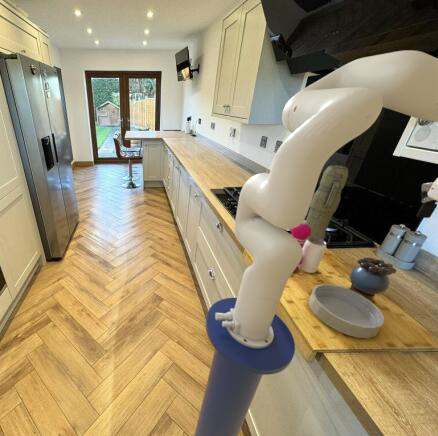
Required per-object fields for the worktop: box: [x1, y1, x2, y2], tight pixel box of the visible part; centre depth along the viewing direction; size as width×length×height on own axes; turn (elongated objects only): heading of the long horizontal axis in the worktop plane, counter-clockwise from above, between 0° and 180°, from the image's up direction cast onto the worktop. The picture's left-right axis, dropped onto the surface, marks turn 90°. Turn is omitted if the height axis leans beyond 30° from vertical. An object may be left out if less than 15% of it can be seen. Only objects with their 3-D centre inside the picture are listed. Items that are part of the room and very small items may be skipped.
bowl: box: [307, 283, 385, 339], centre depth 68 cm, size 16×16×4 cm
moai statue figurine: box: [302, 164, 349, 248], centre depth 96 cm, size 9×12×35 cm
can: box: [298, 237, 327, 274], centre depth 86 cm, size 6×6×12 cm
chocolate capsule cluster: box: [357, 257, 397, 276], centre depth 71 cm, size 9×7×2 cm
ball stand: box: [348, 265, 390, 302], centre depth 74 cm, size 9×9×12 cm
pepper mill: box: [290, 219, 311, 274], centre depth 84 cm, size 7×7×20 cm
